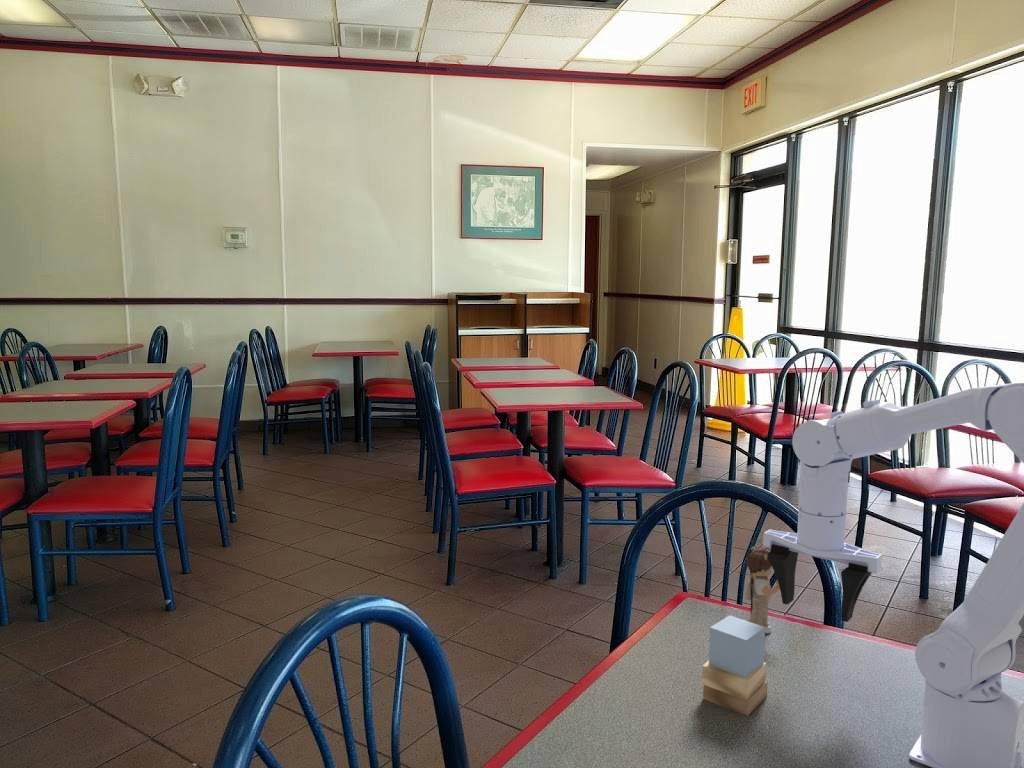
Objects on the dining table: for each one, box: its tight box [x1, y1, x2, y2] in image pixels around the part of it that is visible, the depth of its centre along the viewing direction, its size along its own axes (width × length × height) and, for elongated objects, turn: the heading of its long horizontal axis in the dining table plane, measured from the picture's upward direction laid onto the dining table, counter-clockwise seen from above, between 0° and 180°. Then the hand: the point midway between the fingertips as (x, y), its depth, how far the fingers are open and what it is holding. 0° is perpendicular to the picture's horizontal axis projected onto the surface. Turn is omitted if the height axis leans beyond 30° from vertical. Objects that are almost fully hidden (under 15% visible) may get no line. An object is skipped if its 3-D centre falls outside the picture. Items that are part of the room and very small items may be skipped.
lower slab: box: [702, 679, 769, 717], centre depth 96 cm, size 6×6×2 cm
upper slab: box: [701, 659, 767, 700], centre depth 96 cm, size 6×6×2 cm
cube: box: [708, 614, 766, 678], centre depth 95 cm, size 5×5×5 cm
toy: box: [744, 539, 780, 634], centre depth 115 cm, size 6×6×15 cm
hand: (816, 610), depth 98 cm, fingers open, 7 cm apart
